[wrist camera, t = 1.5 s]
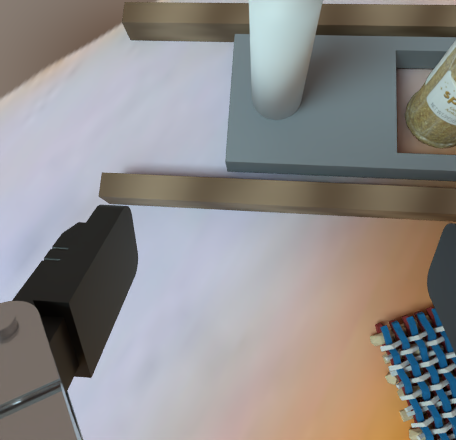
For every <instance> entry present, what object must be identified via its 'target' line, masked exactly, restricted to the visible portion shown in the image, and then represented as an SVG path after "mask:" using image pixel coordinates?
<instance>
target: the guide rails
mask: <svg viewBox="0 0 456 440" xmlns="http://www.w3.org/2000/svg"><path fill="white" fill-rule="evenodd" d="M122 23H123V25H124V27H125V29H126V32H127V34H128V36H129V38H130V40H153V41H212V42H234V37H235V34H250V23H249V3H159V2H125V4H124V11H123V19H122ZM316 35H336V36H402V37H456V5H381V4H322V7H321V11H320V16H319V21H318V25H317V30H316ZM99 197H100V198H102V199H103V200H105V201H106V202H108V203H109V204H123V205H142V206H162V207H181V208H201V209H220V210H240V211H259V212H279V213H298V214H318V215H338V216H357V217H377V218H396V219H416V220H435V221H455V222H456V188H436V187H413V186H391V185H369V184H346V183H324V182H302V181H279V180H257V179H235V178H212V177H190V176H168V175H145V174H123V173H102V176H101V183H100V191H99Z"/></svg>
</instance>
